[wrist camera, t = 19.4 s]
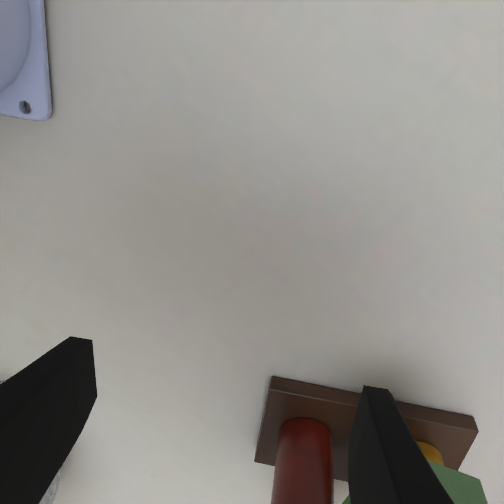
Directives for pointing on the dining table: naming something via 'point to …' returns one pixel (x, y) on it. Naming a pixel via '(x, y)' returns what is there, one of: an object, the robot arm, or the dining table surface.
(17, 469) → the robot arm
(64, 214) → the dining table surface
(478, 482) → the bar
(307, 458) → the rod stand
